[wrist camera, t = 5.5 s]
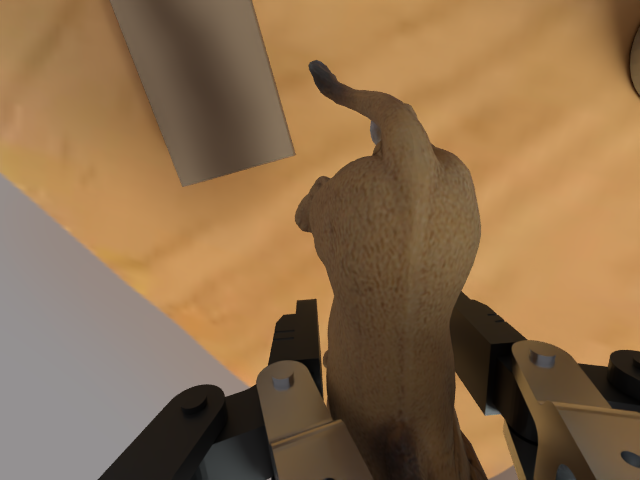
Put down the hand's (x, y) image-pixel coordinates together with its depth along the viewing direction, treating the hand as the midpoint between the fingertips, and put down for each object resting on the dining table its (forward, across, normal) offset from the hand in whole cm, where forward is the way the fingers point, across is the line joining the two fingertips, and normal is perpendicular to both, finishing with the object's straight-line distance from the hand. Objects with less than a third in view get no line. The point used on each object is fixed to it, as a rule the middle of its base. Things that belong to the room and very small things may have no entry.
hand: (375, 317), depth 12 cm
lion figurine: (+1, 0, -1) cm, 1 cm away
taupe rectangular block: (+17, +8, -12) cm, 22 cm away
